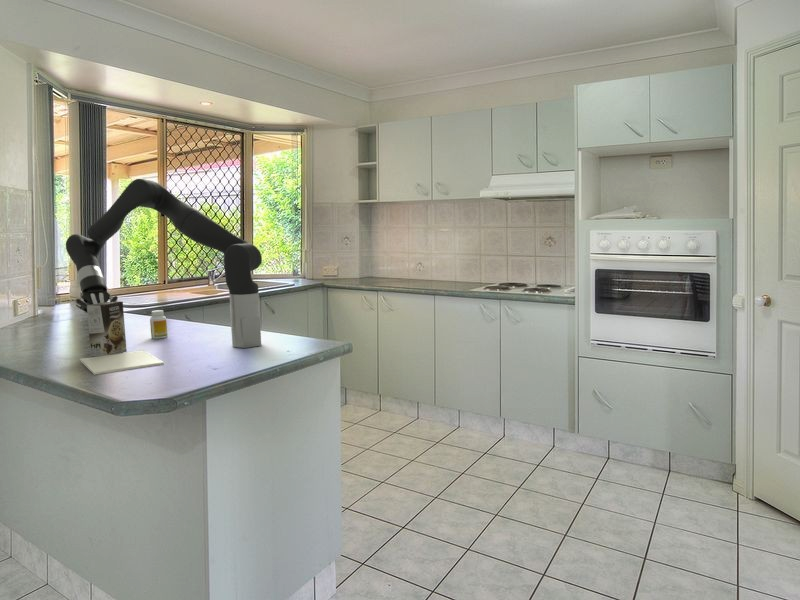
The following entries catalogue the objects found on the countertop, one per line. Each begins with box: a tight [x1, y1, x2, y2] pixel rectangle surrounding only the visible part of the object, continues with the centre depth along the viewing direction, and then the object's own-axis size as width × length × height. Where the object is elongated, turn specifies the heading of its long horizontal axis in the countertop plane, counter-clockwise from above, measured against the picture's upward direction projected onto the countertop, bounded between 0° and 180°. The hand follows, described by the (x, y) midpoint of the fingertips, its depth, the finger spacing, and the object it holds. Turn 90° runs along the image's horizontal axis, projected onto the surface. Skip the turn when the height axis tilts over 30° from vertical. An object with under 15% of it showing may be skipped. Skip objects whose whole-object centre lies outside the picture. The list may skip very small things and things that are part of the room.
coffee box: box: [86, 301, 128, 357], centre depth 184 cm, size 9×6×16 cm
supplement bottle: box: [149, 309, 168, 340], centre depth 211 cm, size 5×5×10 cm
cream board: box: [79, 350, 165, 376], centre depth 172 cm, size 22×18×1 cm
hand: (102, 322), depth 190 cm, fingers closed
